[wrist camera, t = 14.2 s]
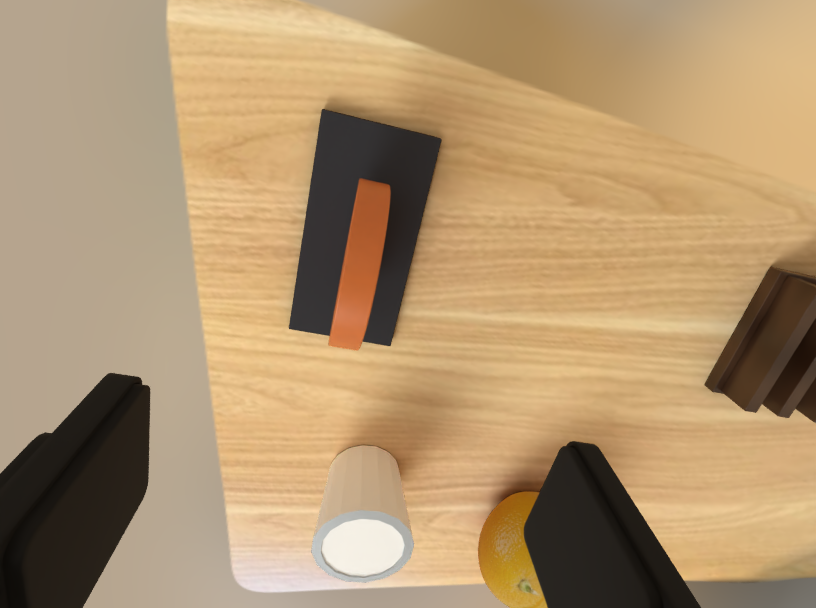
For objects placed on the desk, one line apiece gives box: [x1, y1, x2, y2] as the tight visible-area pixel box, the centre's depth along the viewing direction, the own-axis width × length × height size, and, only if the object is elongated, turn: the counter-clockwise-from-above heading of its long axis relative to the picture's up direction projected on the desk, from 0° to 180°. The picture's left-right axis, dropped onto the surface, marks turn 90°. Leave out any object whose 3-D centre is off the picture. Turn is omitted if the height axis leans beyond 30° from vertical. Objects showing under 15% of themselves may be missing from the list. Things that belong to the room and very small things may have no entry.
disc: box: [328, 178, 391, 350], centre depth 25 cm, size 9×2×9 cm, turn 167°
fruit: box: [478, 491, 548, 608], centre depth 37 cm, size 9×8×8 cm
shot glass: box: [311, 445, 414, 583], centre depth 34 cm, size 7×7×7 cm
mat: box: [289, 109, 441, 346], centre depth 29 cm, size 14×7×1 cm, turn 167°
